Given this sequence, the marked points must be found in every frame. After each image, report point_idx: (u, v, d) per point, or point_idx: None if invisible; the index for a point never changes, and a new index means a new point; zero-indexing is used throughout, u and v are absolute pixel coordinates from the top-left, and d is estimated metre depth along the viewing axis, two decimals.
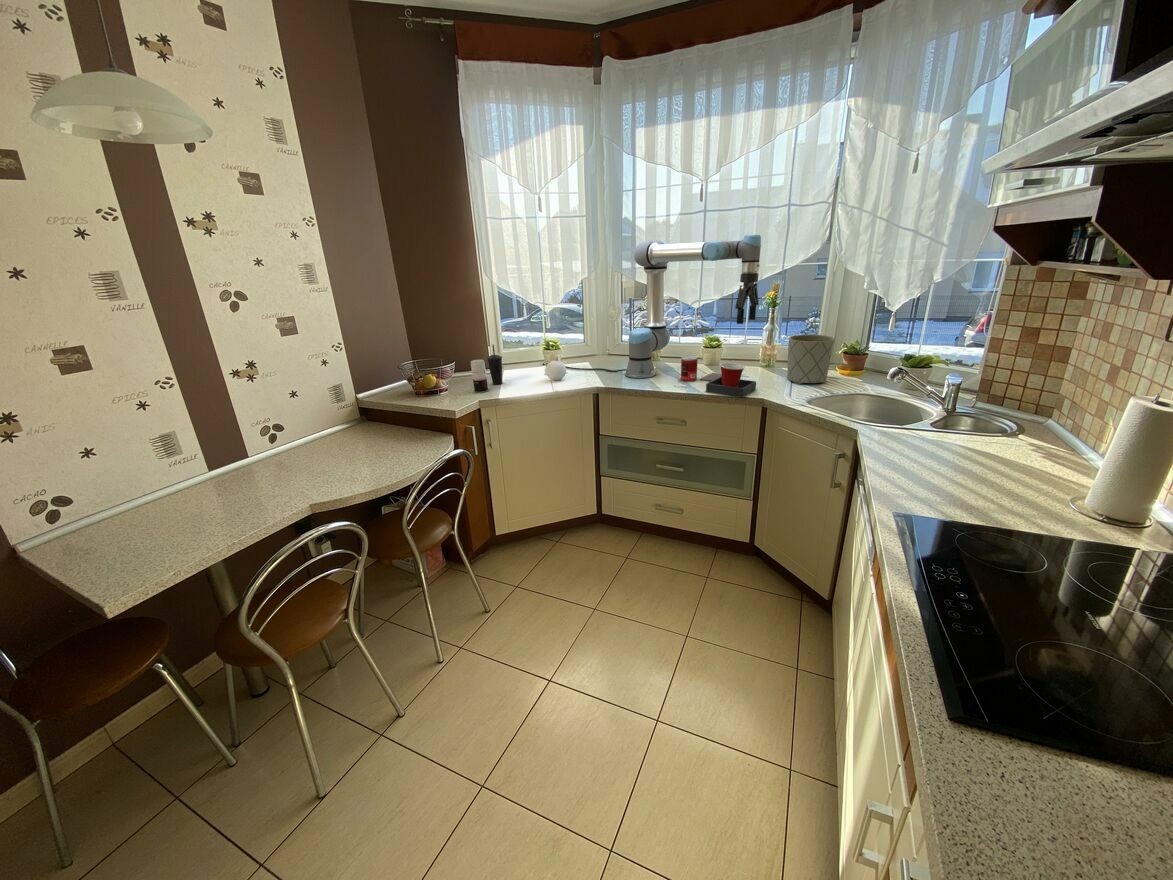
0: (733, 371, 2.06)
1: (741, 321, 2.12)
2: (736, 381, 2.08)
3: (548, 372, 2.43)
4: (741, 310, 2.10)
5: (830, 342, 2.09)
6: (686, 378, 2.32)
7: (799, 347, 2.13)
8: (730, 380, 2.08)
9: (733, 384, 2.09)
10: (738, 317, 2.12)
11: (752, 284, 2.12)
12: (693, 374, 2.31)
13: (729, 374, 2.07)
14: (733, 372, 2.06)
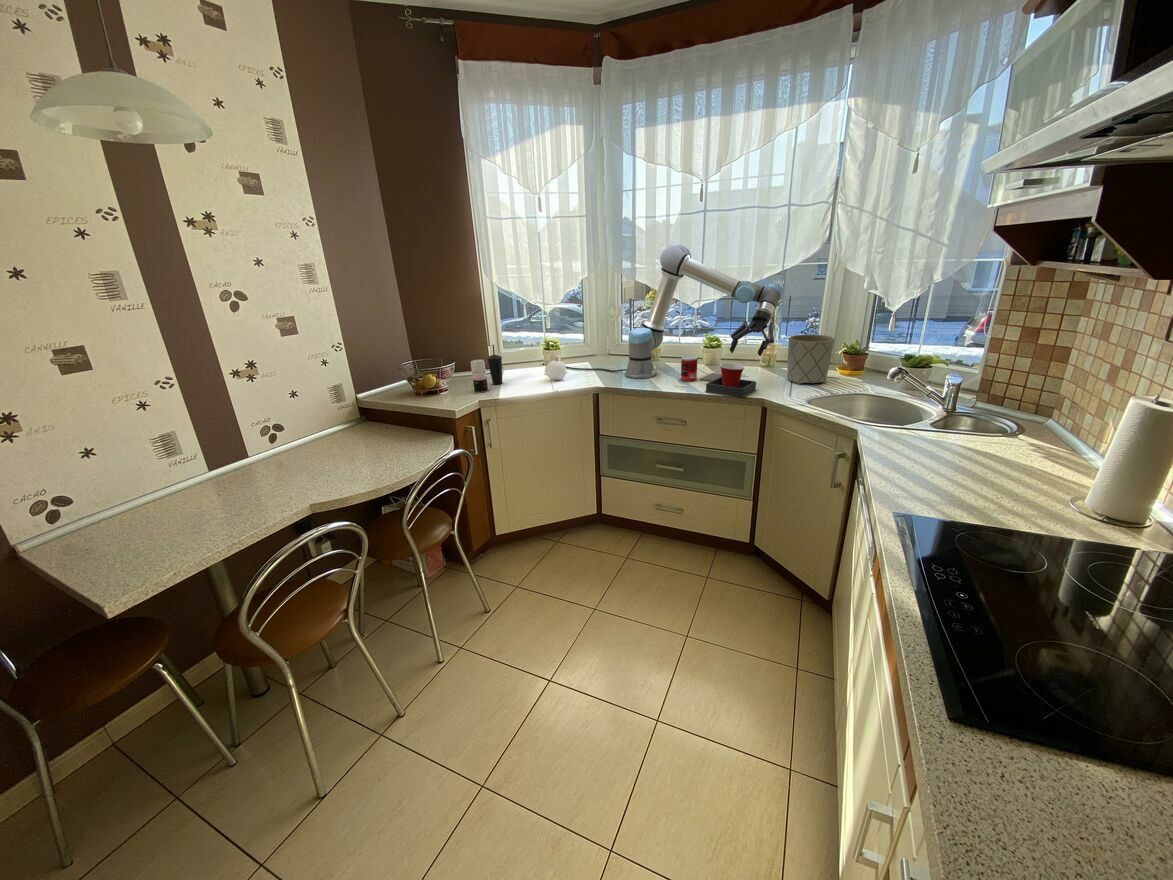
0: (733, 371, 2.06)
1: (761, 353, 2.11)
2: (736, 381, 2.08)
3: (548, 372, 2.43)
4: None
5: (830, 342, 2.09)
6: (686, 378, 2.32)
7: (799, 347, 2.13)
8: (730, 380, 2.08)
9: (733, 384, 2.09)
10: (761, 348, 2.10)
11: None
12: (693, 374, 2.31)
13: (729, 374, 2.07)
14: (733, 372, 2.06)
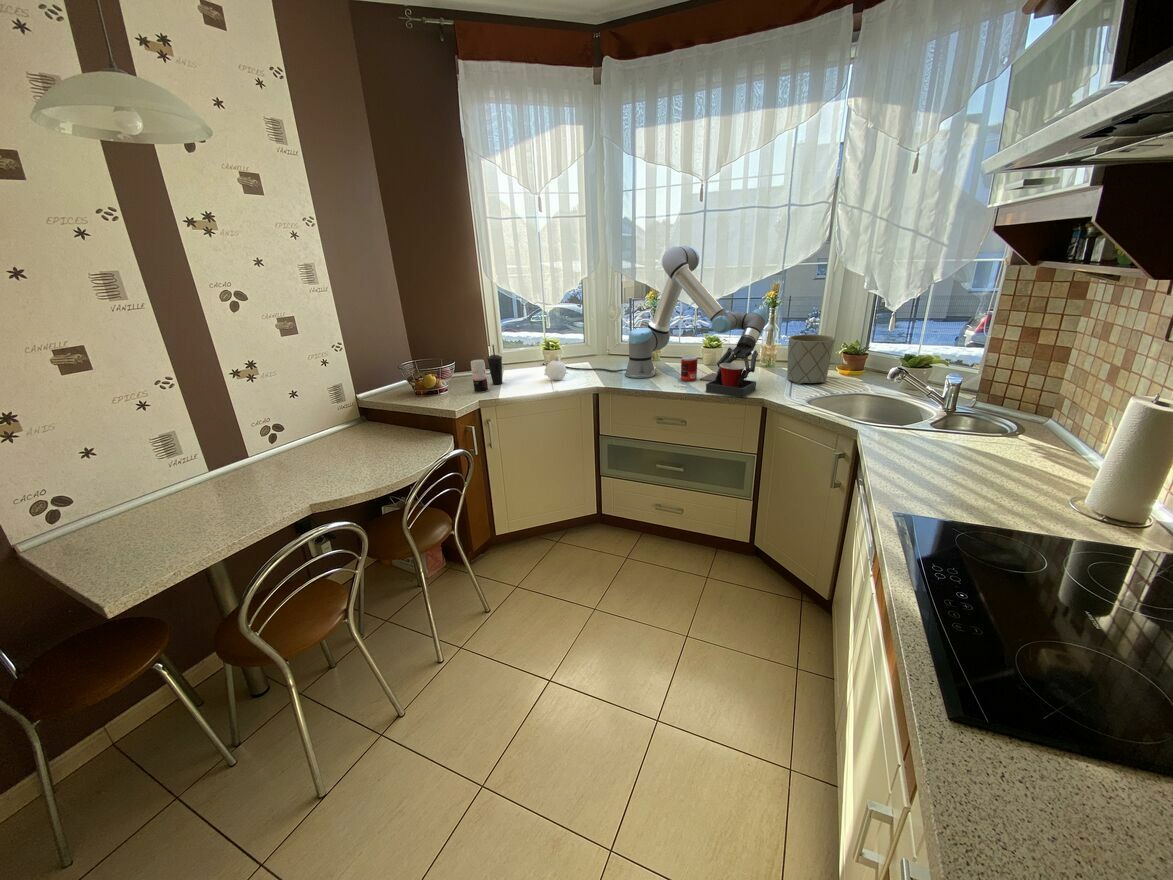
0: (733, 371, 2.06)
1: (741, 382, 2.07)
2: (736, 381, 2.08)
3: (548, 372, 2.43)
4: None
5: (830, 342, 2.09)
6: (686, 378, 2.32)
7: (799, 347, 2.13)
8: (730, 380, 2.08)
9: (733, 384, 2.09)
10: (742, 377, 2.06)
11: None
12: (693, 374, 2.31)
13: (729, 374, 2.07)
14: (733, 372, 2.06)
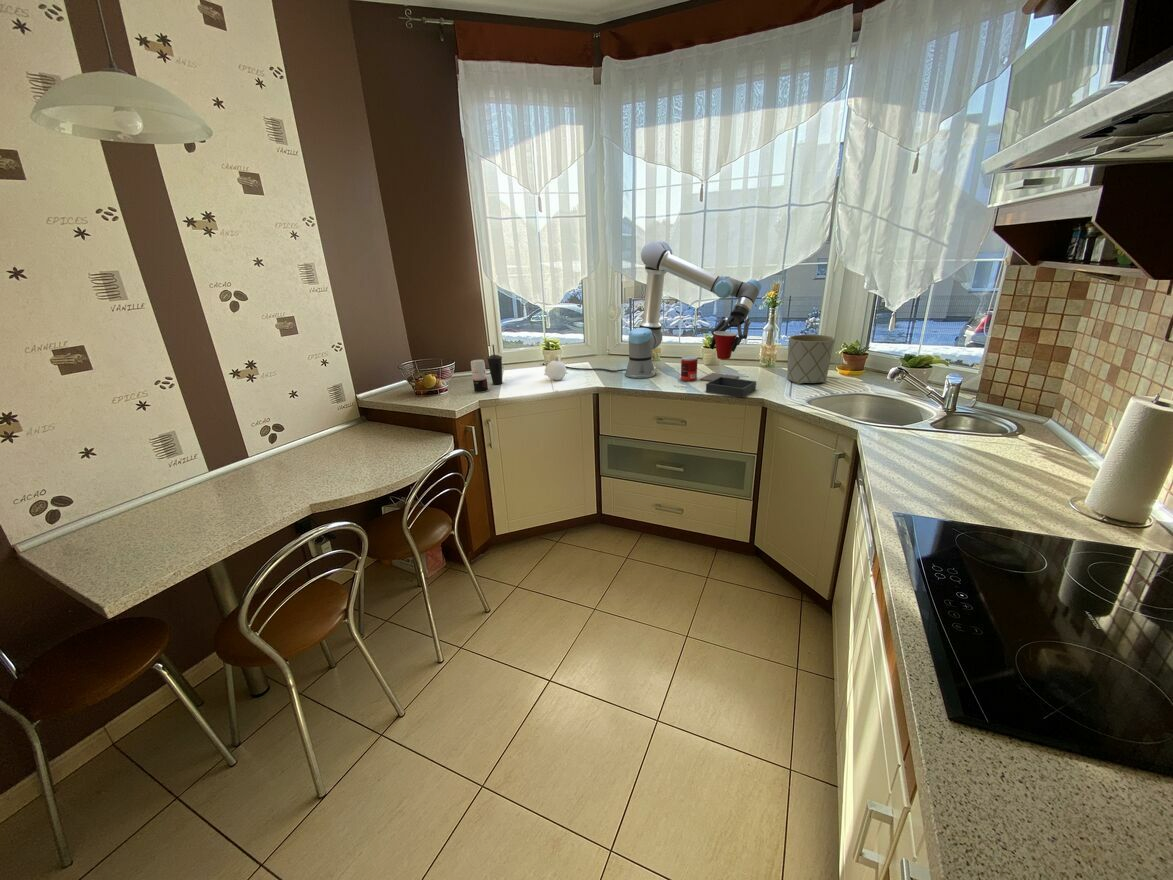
0: (726, 338, 2.14)
1: (734, 349, 2.16)
2: (729, 348, 2.17)
3: (548, 372, 2.43)
4: None
5: (830, 342, 2.09)
6: (686, 378, 2.32)
7: (799, 347, 2.13)
8: (723, 347, 2.17)
9: (726, 351, 2.18)
10: (735, 344, 2.15)
11: None
12: (693, 374, 2.31)
13: (723, 341, 2.16)
14: (726, 338, 2.15)
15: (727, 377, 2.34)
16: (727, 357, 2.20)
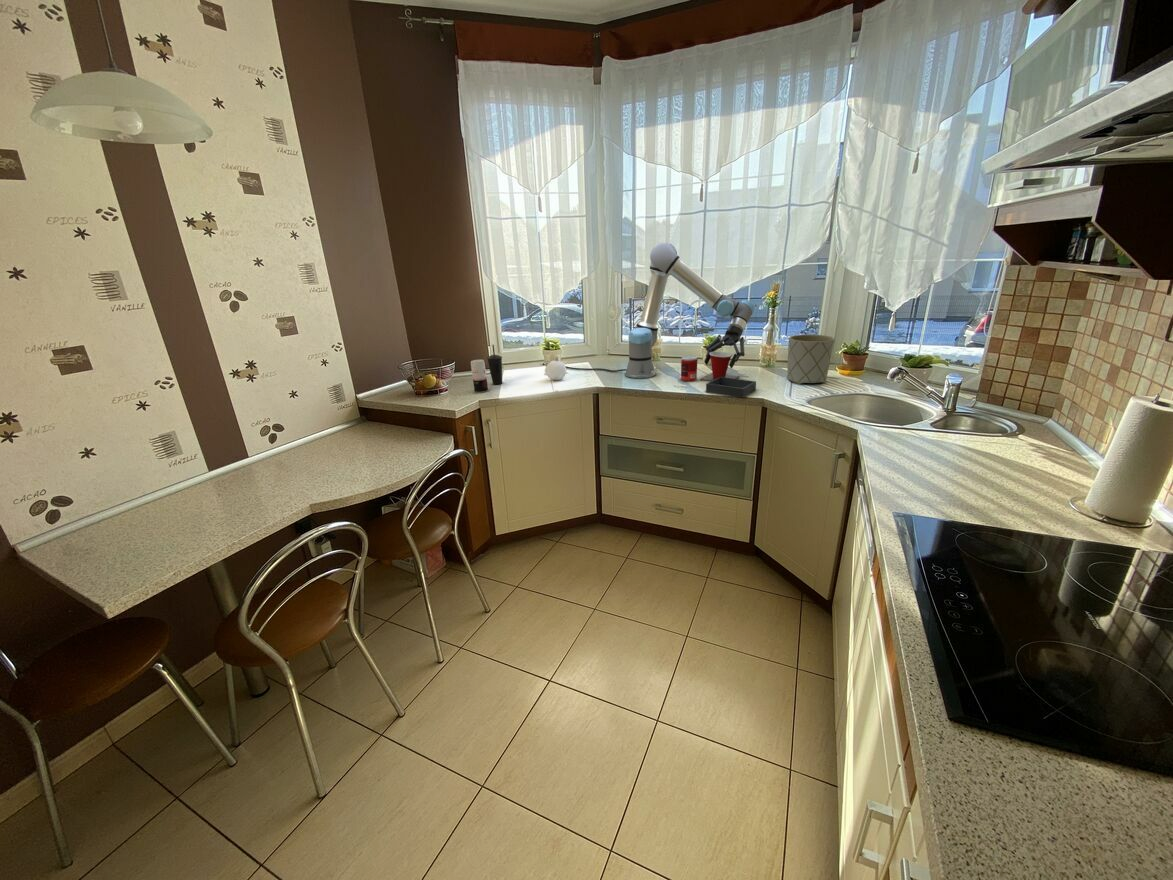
0: (721, 359, 2.27)
1: (732, 365, 2.27)
2: (724, 368, 2.29)
3: (548, 372, 2.43)
4: None
5: (830, 342, 2.09)
6: (686, 378, 2.32)
7: (799, 347, 2.13)
8: (719, 367, 2.29)
9: (721, 371, 2.30)
10: (733, 361, 2.26)
11: None
12: (693, 374, 2.31)
13: (718, 361, 2.28)
14: (722, 359, 2.27)
15: (727, 377, 2.34)
16: None
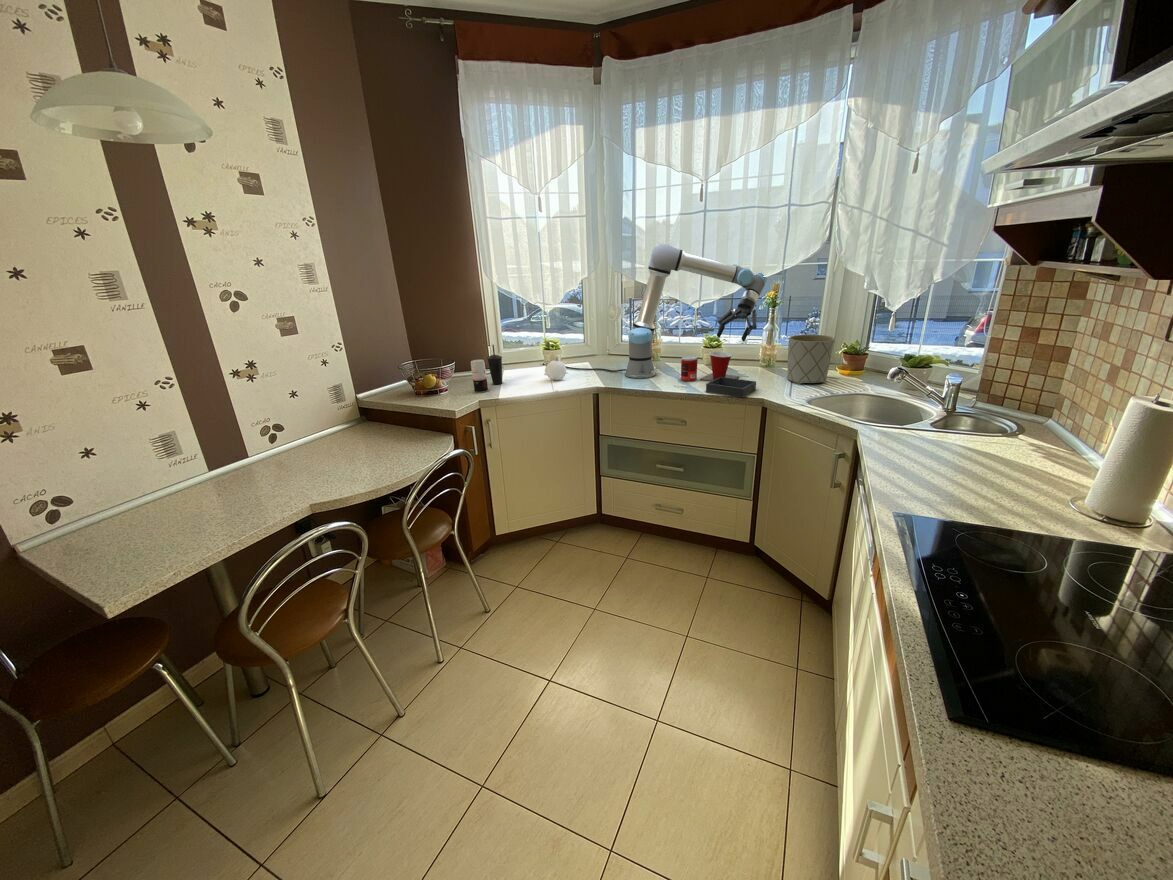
0: (721, 359, 2.27)
1: (744, 339, 2.31)
2: (724, 368, 2.29)
3: (548, 372, 2.43)
4: None
5: (830, 342, 2.09)
6: (686, 378, 2.32)
7: (799, 347, 2.13)
8: (719, 367, 2.29)
9: (721, 371, 2.30)
10: (745, 334, 2.30)
11: None
12: (693, 374, 2.31)
13: (718, 361, 2.28)
14: (722, 359, 2.27)
15: (727, 377, 2.34)
16: None
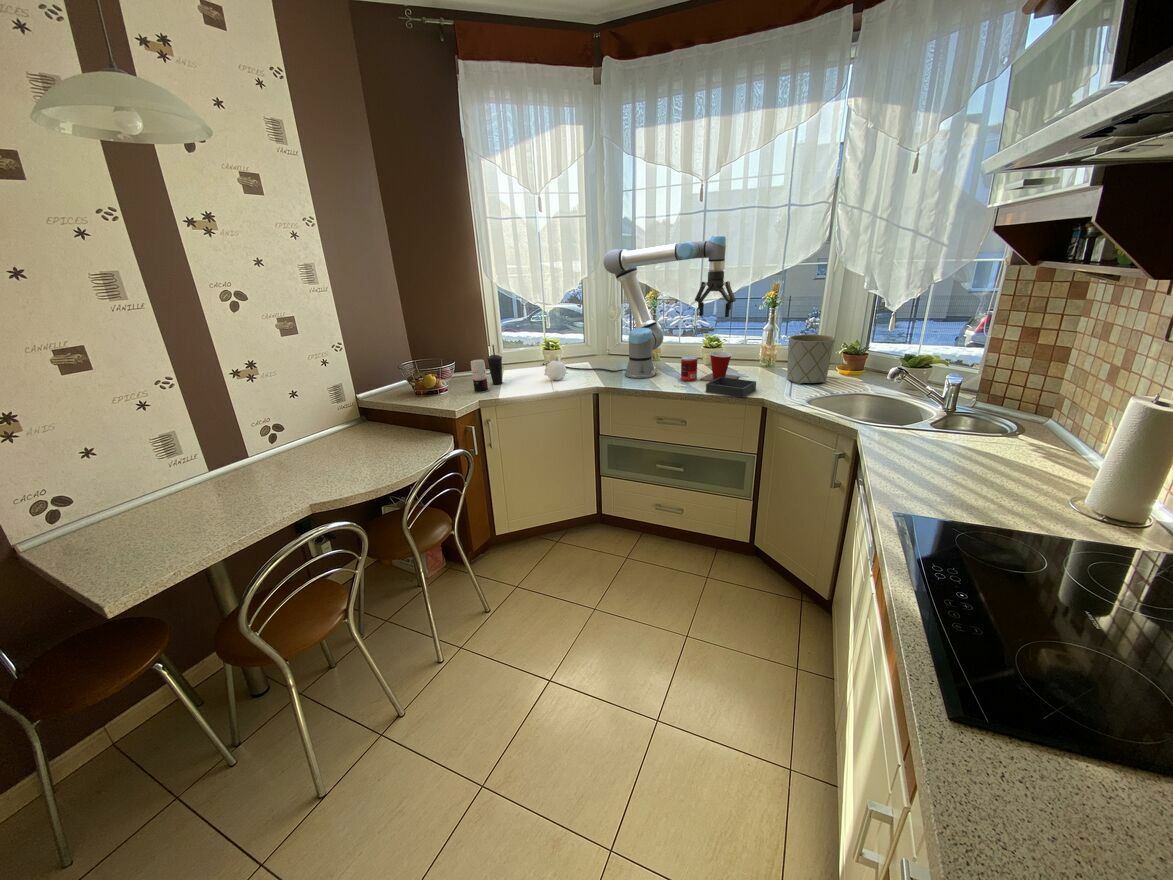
0: (721, 359, 2.27)
1: (728, 314, 2.30)
2: (724, 368, 2.29)
3: (548, 372, 2.43)
4: None
5: (830, 342, 2.09)
6: (686, 378, 2.32)
7: (799, 347, 2.13)
8: (719, 367, 2.29)
9: (721, 371, 2.30)
10: (727, 311, 2.28)
11: None
12: (693, 374, 2.31)
13: (718, 361, 2.28)
14: (722, 359, 2.27)
15: (727, 377, 2.34)
16: None
